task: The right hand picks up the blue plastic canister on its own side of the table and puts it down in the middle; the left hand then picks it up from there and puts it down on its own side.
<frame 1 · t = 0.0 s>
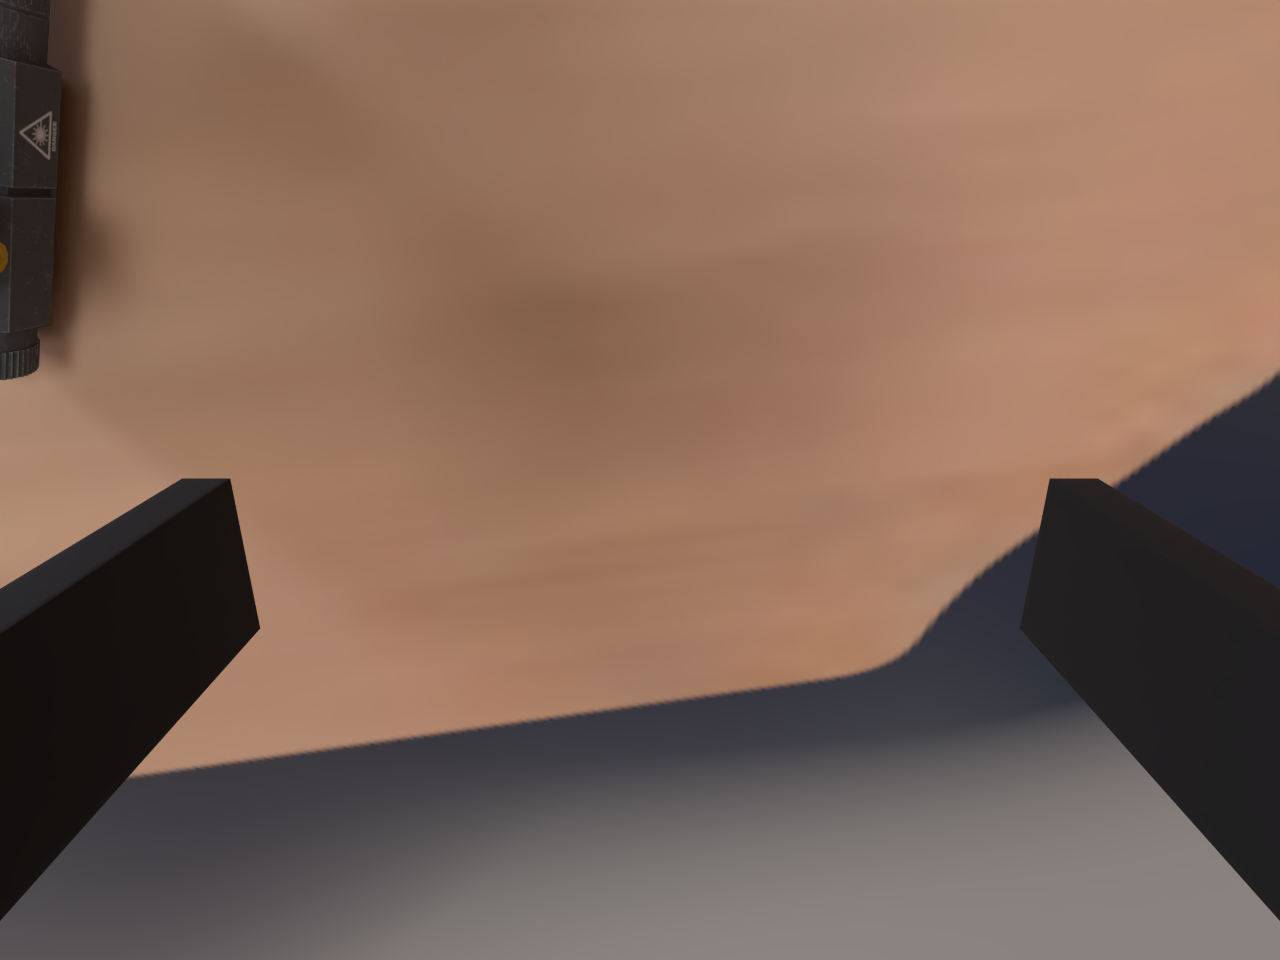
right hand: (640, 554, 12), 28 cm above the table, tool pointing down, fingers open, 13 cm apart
laser sight: (20, 139, 36), on the table
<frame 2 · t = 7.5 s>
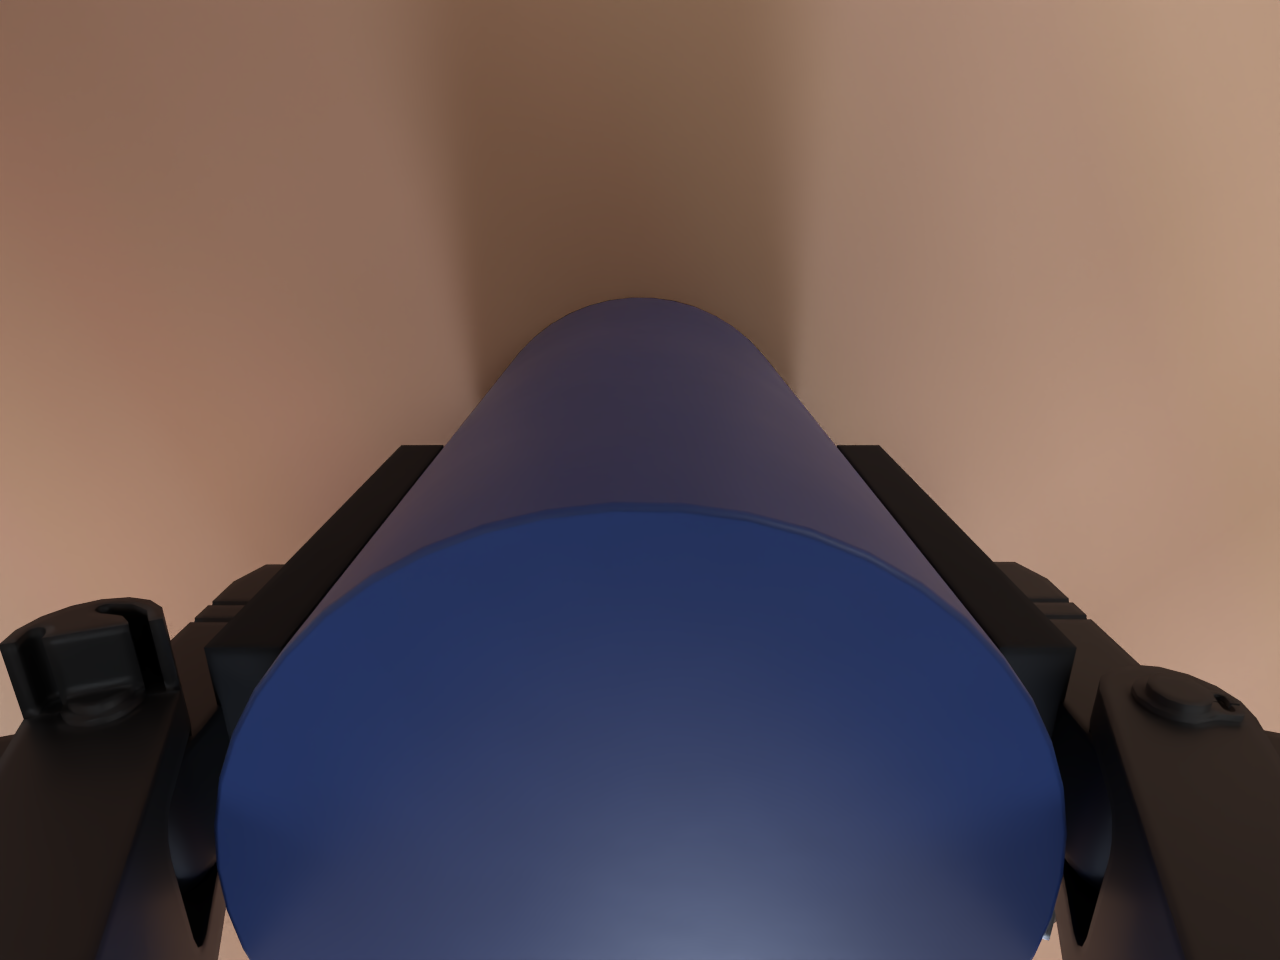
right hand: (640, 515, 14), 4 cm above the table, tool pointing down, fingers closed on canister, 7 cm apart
canister: (640, 454, 17), on the table, touching right hand
when the right hand's fingers open (5 cm above the table, at t = 10.6 s): canister drops 2 cm, on the table.
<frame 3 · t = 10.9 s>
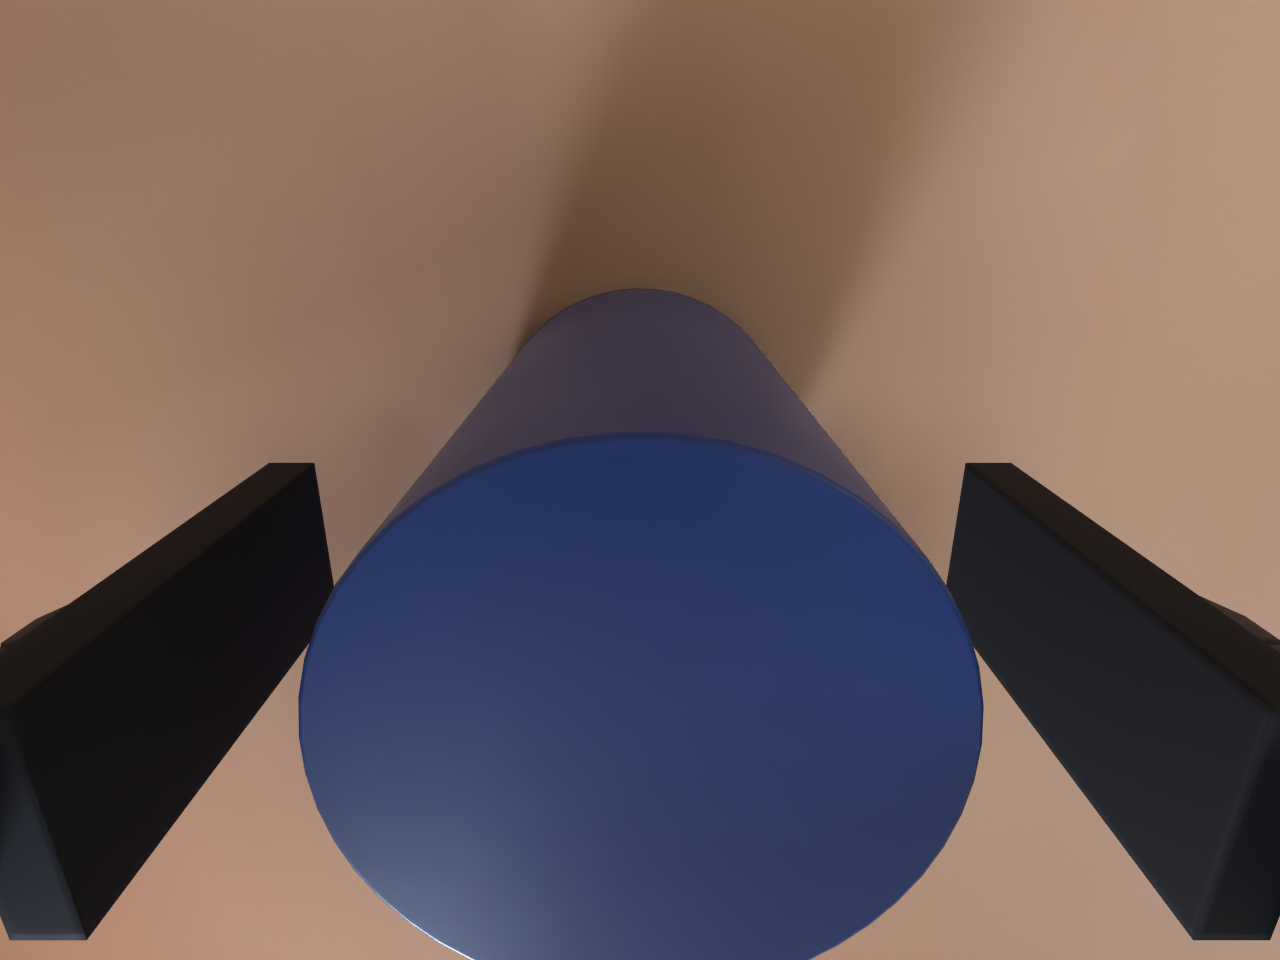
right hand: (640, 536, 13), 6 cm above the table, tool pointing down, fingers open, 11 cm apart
canister: (640, 433, 19), on the table
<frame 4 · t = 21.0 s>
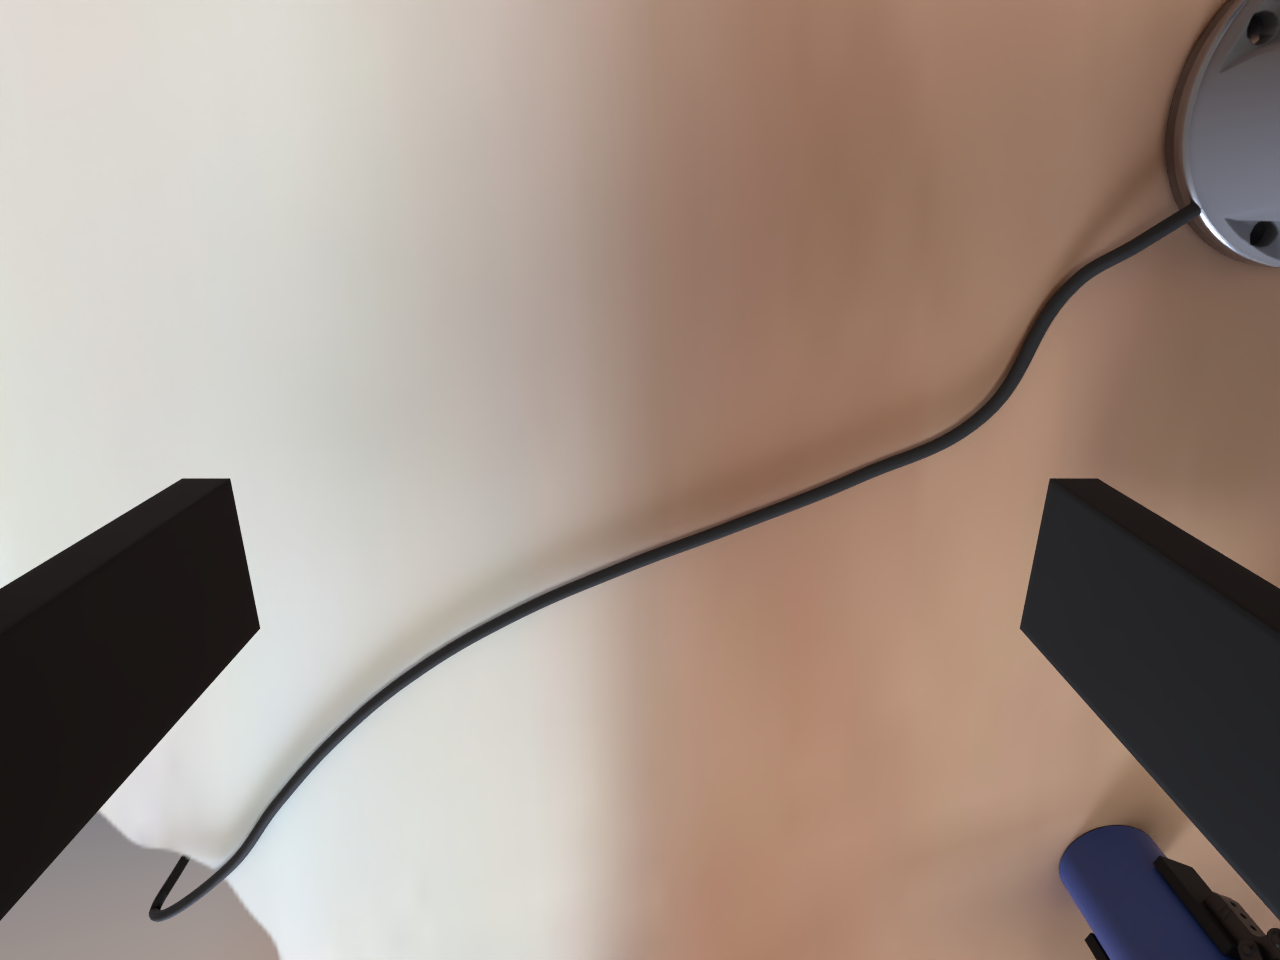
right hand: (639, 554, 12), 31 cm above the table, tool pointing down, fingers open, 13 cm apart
canister: (1107, 862, 55), on the table, touching left hand
when the left hand's fingers open (5 cm above the table, at t = 30.8 s): canister drops 2 cm, on the table.
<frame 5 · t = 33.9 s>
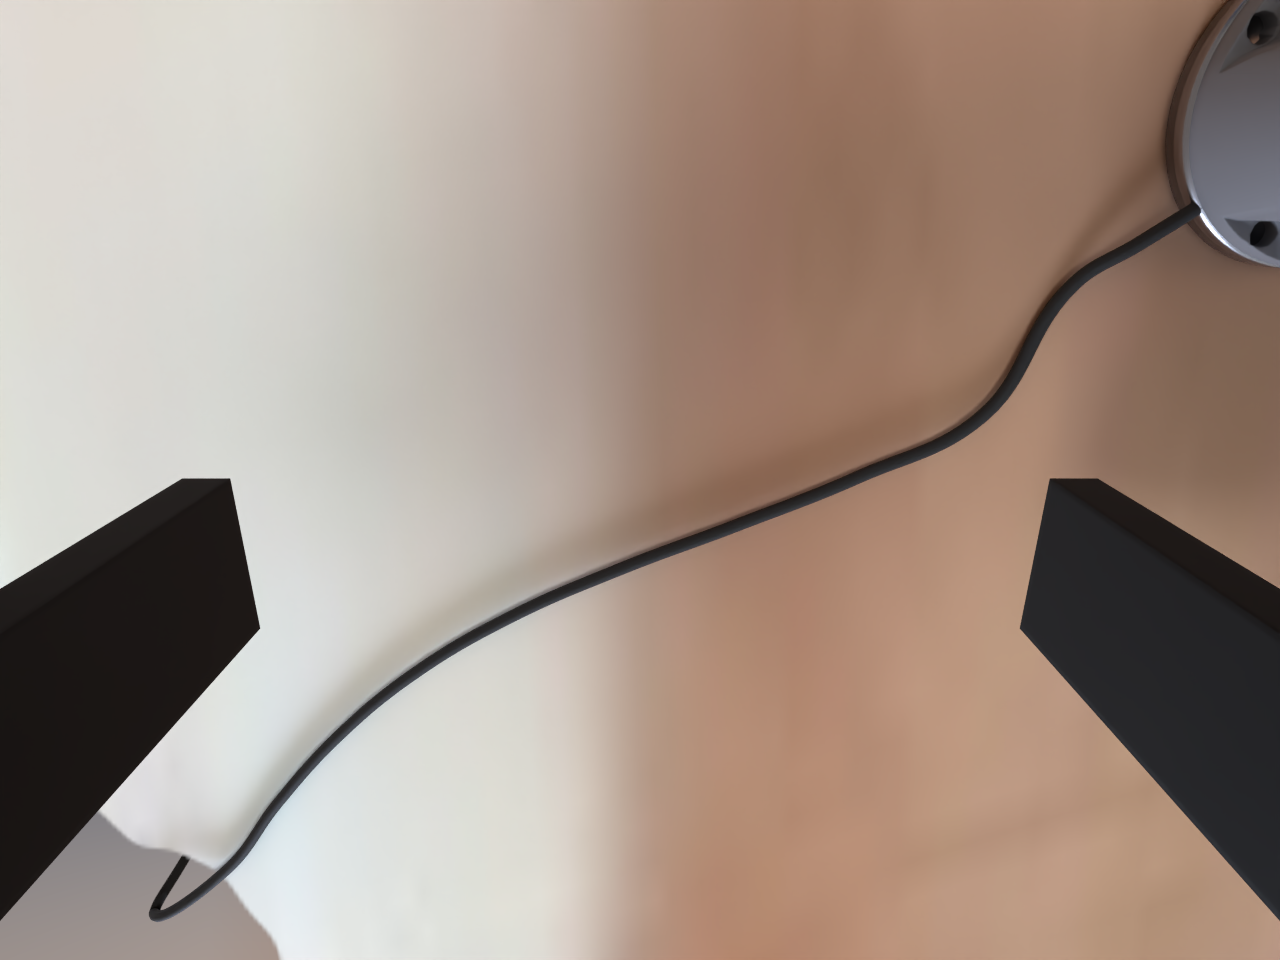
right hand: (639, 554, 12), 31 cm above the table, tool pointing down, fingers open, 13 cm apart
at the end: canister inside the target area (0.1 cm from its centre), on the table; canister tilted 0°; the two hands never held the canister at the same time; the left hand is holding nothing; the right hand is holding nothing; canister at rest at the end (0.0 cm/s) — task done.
